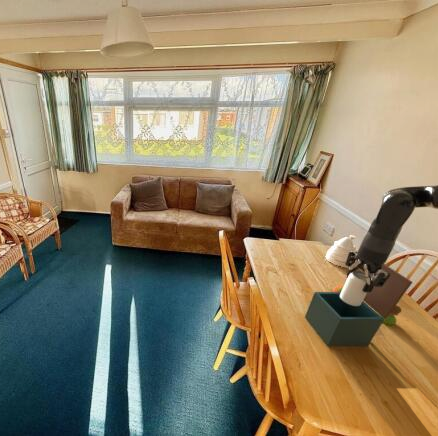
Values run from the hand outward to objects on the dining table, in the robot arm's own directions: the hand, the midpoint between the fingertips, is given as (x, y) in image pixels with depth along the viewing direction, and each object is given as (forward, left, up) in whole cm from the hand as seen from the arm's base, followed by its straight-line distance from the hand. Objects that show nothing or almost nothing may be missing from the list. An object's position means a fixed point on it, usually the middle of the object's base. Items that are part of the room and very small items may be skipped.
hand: (357, 284), depth 85 cm
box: (0, 0, -24) cm, 24 cm away
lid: (-8, 0, -1) cm, 8 cm away
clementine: (-16, -18, -25) cm, 34 cm away
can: (0, 0, -8) cm, 8 cm away
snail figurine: (-24, -4, -25) cm, 35 cm away
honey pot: (-39, -49, -25) cm, 67 cm away
